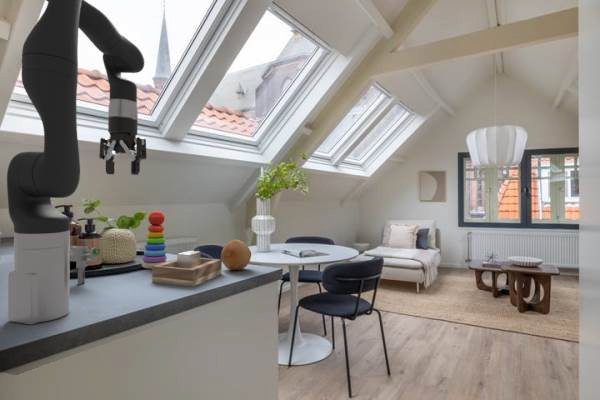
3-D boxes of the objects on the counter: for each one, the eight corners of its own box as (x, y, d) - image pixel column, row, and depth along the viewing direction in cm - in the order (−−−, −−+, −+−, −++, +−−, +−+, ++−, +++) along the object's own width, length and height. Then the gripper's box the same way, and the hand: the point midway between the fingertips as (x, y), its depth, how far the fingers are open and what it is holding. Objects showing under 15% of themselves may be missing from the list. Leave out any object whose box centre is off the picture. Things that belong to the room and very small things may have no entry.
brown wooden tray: (192, 286, 98) (192, 270, 98) (152, 282, 102) (152, 266, 102) (221, 273, 113) (221, 259, 113) (185, 270, 117) (185, 256, 117)
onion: (251, 273, 116) (251, 241, 115) (219, 273, 114) (220, 241, 114) (250, 266, 125) (251, 237, 125) (221, 267, 124) (221, 237, 123)
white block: (188, 275, 104) (189, 254, 104) (176, 274, 105) (177, 253, 105) (200, 271, 110) (200, 251, 110) (188, 270, 111) (189, 250, 111)
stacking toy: (161, 269, 117) (162, 212, 117) (137, 269, 118) (138, 211, 117) (170, 264, 125) (171, 210, 125) (147, 264, 125) (148, 210, 125)
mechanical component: (93, 286, 96) (93, 248, 96) (60, 283, 98) (60, 246, 98) (101, 283, 99) (101, 247, 99) (69, 280, 101) (69, 245, 101)
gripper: (92, 116, 102) (91, 173, 102) (134, 114, 98) (133, 174, 98) (113, 121, 109) (112, 175, 109) (153, 119, 105) (152, 175, 105)
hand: (122, 174), depth 104 cm, fingers open, 8 cm apart
